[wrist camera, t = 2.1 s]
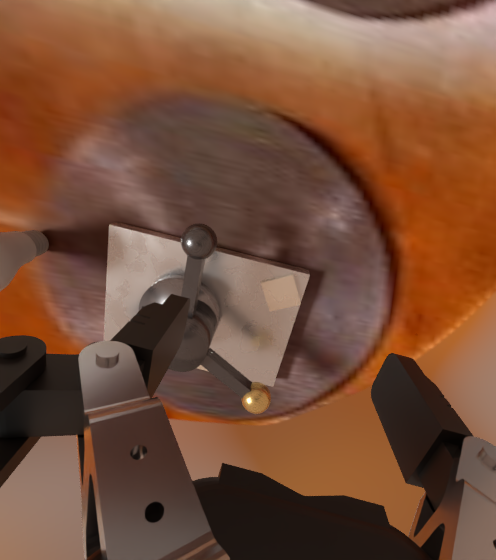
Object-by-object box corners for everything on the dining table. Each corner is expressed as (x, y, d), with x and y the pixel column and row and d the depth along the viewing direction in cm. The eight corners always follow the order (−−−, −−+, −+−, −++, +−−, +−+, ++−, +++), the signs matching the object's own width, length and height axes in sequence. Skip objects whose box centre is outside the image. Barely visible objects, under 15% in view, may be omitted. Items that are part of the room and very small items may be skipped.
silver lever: (313, 240, 26) (322, 259, 21) (268, 381, 32) (266, 424, 27) (115, 191, 26) (72, 197, 21) (107, 340, 32) (72, 375, 27)
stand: (308, 269, 29) (310, 276, 28) (273, 377, 34) (272, 389, 33) (117, 221, 30) (106, 225, 28) (110, 336, 35) (101, 345, 33)
